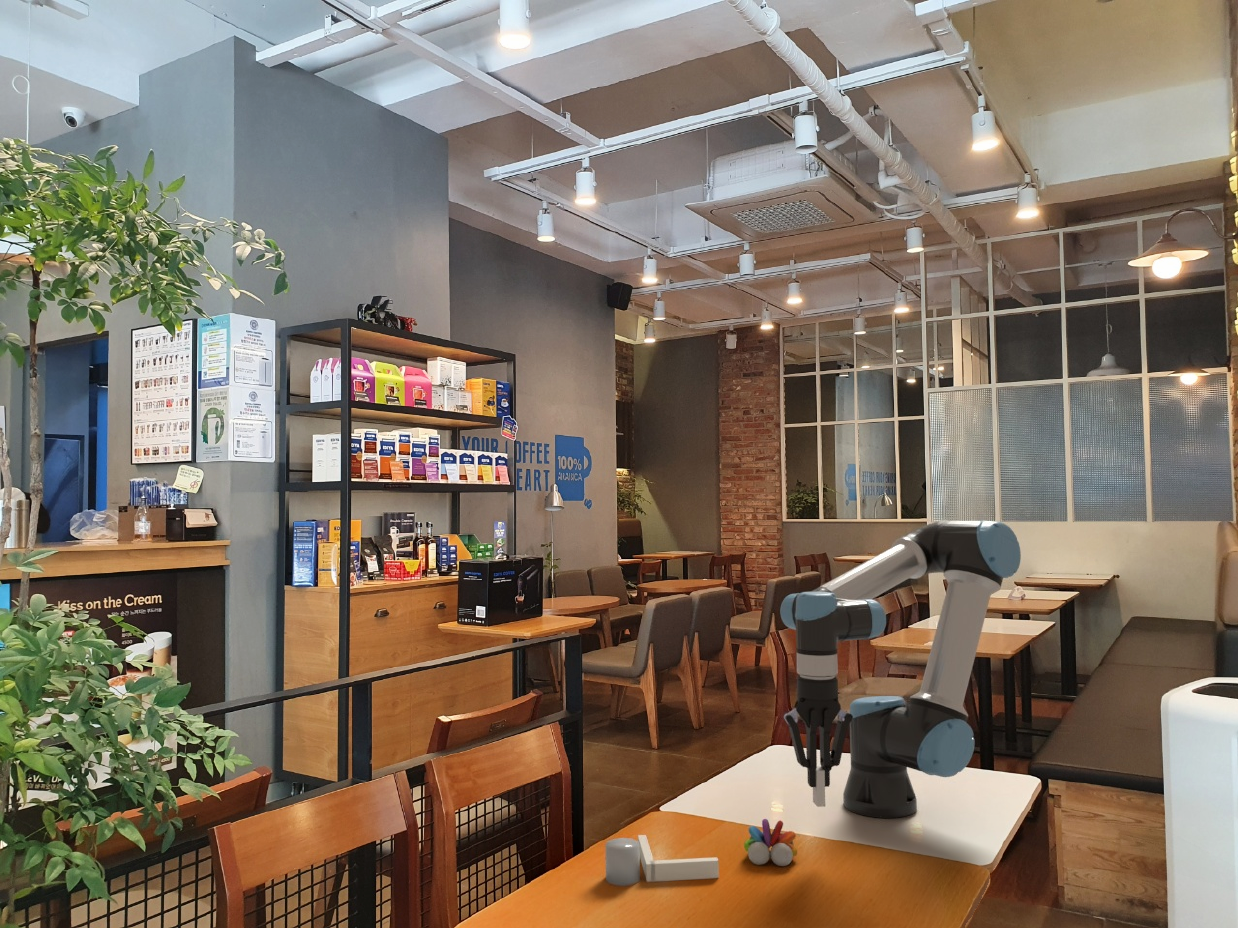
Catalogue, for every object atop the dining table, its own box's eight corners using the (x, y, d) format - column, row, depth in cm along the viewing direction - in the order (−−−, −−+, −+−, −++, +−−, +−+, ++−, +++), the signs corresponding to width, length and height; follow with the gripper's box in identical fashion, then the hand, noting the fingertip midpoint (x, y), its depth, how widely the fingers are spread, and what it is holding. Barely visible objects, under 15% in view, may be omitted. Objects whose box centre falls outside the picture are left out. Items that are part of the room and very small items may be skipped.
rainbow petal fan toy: (797, 870, 164) (796, 829, 164) (742, 867, 166) (742, 826, 166) (797, 852, 172) (796, 813, 172) (745, 849, 174) (744, 810, 174)
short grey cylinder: (638, 870, 164) (637, 836, 165) (641, 884, 158) (641, 849, 159) (604, 872, 164) (604, 838, 164) (607, 886, 158) (606, 851, 158)
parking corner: (704, 847, 175) (704, 831, 175) (718, 877, 161) (718, 860, 161) (638, 851, 174) (637, 835, 174) (646, 881, 160) (646, 864, 160)
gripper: (844, 671, 175) (846, 796, 174) (777, 672, 174) (779, 798, 173) (858, 678, 168) (860, 809, 166) (788, 680, 166) (790, 811, 165)
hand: (819, 803), depth 170 cm, fingers closed
